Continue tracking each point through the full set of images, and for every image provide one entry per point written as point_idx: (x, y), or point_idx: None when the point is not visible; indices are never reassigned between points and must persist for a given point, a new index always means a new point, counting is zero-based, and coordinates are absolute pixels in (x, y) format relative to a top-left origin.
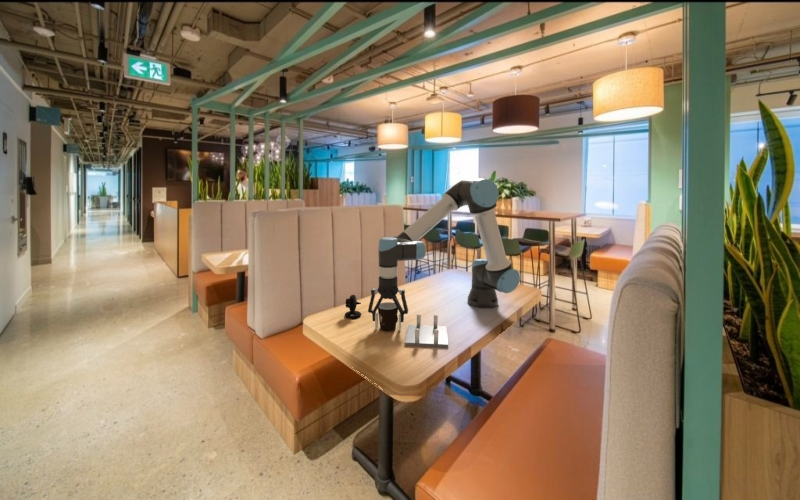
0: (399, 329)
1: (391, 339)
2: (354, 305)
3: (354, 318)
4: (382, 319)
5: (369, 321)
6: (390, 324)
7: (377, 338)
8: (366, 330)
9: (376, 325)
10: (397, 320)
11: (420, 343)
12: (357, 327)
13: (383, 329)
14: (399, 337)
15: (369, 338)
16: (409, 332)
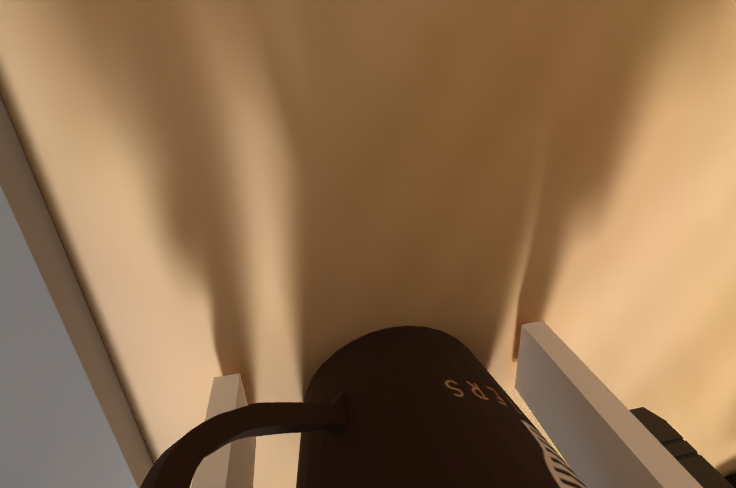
0: (226, 387)
1: (272, 105)
2: None
3: None
4: (531, 453)
5: None
6: (364, 410)
7: (489, 100)
8: (629, 295)
9: (559, 361)
10: (161, 458)
11: None
12: (715, 336)
13: (444, 342)
14: (167, 202)
15: (599, 78)
16: (11, 329)
